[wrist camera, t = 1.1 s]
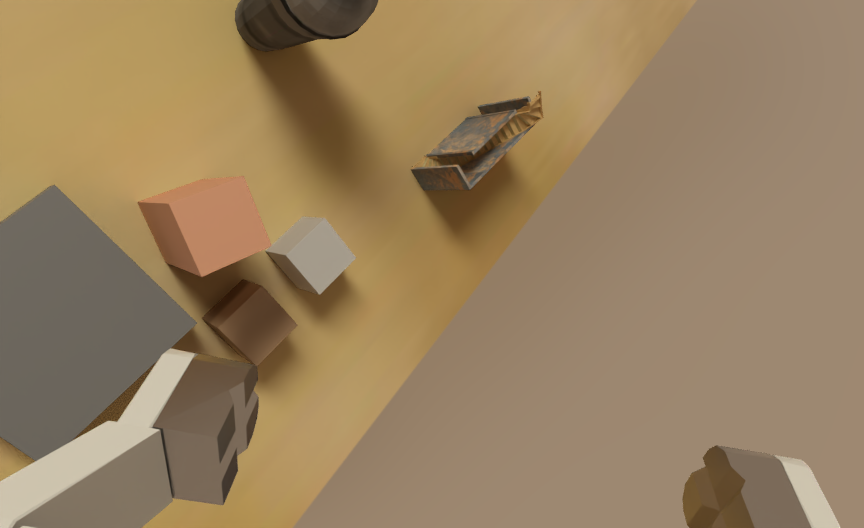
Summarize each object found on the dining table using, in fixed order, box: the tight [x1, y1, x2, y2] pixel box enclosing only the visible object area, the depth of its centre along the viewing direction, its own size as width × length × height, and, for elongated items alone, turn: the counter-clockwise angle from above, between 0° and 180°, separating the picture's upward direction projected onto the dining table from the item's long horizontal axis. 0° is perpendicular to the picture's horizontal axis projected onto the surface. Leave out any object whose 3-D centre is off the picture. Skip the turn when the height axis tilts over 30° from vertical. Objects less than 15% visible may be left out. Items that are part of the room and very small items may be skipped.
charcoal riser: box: [0, 185, 197, 461], centre depth 39 cm, size 13×13×4 cm
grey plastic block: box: [266, 217, 356, 295], centre depth 50 cm, size 4×4×4 cm
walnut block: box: [202, 280, 297, 366], centre depth 48 cm, size 4×4×4 cm
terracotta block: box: [138, 176, 272, 277], centre depth 42 cm, size 5×5×10 cm
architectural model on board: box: [411, 91, 543, 190], centre depth 57 cm, size 11×3×10 cm, turn 128°
